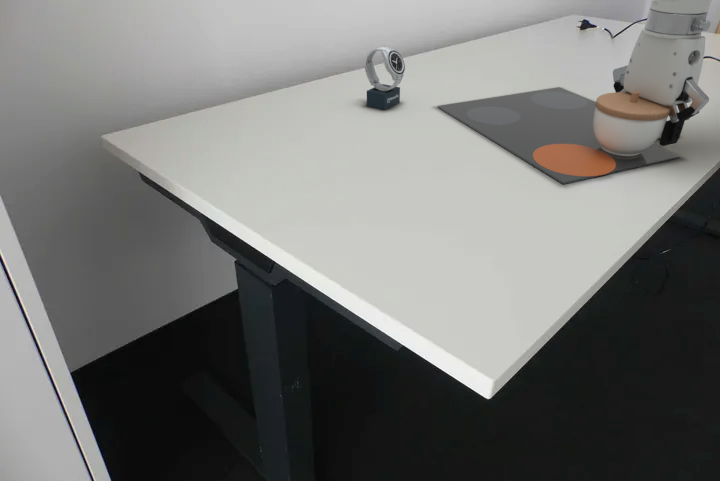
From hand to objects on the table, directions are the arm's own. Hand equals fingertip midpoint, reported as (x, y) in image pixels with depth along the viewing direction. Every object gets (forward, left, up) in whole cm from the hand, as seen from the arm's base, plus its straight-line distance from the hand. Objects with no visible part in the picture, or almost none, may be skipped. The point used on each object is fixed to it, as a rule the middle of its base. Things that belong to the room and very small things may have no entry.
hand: (643, 133), depth 88 cm
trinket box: (+4, 0, -2) cm, 5 cm away
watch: (+30, -37, -3) cm, 48 cm away
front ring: (+14, 0, -2) cm, 14 cm away
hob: (+6, -12, -2) cm, 13 cm away
